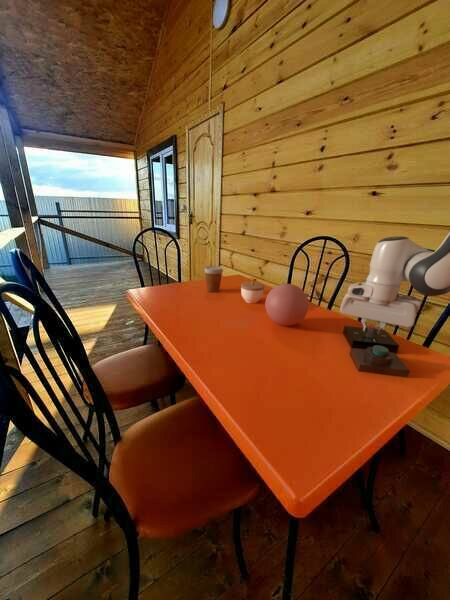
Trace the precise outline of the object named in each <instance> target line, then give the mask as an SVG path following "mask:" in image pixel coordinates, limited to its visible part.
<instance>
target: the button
mask: <svg viewBox="0 0 450 600" xmlns="http://www.w3.org/2000/svg"><path fill="white" fill-rule="evenodd" d="M372 353H373V354H375V355H377V356H381V357H387V354H388V349H387V348H386V347H383V346H380V345H375V346H373V350H372Z"/></svg>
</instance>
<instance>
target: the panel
mask: <svg viewBox="0 0 450 600" xmlns="http://www.w3.org/2000/svg"><path fill="white" fill-rule="evenodd" d="M363 328H364V327H363V326H362V327H360V326H351V325H344V326H343V331H342V334H343V337H344V339H345V340H346V341H347V343H348V345H349V348H350V349H351V348H357V349H365V350H366V349H367V348H368V347H373V346H375V345H380V346H383V347H386V348H387V349H388V351H389V352H392V353H395V354H396V355H397V354H398V352H399V348H400V345H399V343H398V342H397V341H396V340H395V339H394V338H393V336H392V335H390V334H389V333H388V331H386V329H381V330H380V331H379V335H378V334H374V332H373V336H372V338H368V337H366V336H367V332H366V331H363Z"/></svg>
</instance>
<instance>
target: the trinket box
mask: <svg viewBox="0 0 450 600" xmlns="http://www.w3.org/2000/svg"><path fill="white" fill-rule="evenodd" d="M264 291H265V284H263V283H260V282H257V281H256V282H255V280H254V281H244V282H242V283H241V284H240V294H241V297H242V299H243V300H244V301H245V302H246V303H248V304H257V303H259V301H260V300H262V298H263V296H264Z"/></svg>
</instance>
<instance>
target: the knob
mask: <svg viewBox="0 0 450 600" xmlns="http://www.w3.org/2000/svg"><path fill="white" fill-rule="evenodd" d="M376 324H377V321H374V320H370V321H369V324H368V325H369V327H368V331H367V336H366V337H368V338H372V336H373V332H374V328H375V327H376Z"/></svg>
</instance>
